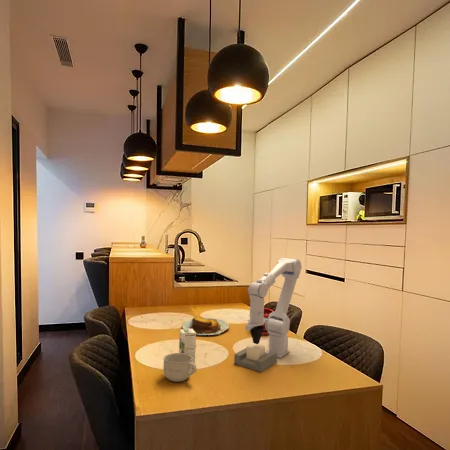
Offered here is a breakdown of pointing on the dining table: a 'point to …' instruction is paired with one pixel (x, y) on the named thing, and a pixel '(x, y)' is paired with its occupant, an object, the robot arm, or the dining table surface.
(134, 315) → the dining table surface
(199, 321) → the food on plate
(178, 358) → the teacup
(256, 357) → the cream cube
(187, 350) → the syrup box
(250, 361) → the socket
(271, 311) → the plant pot
